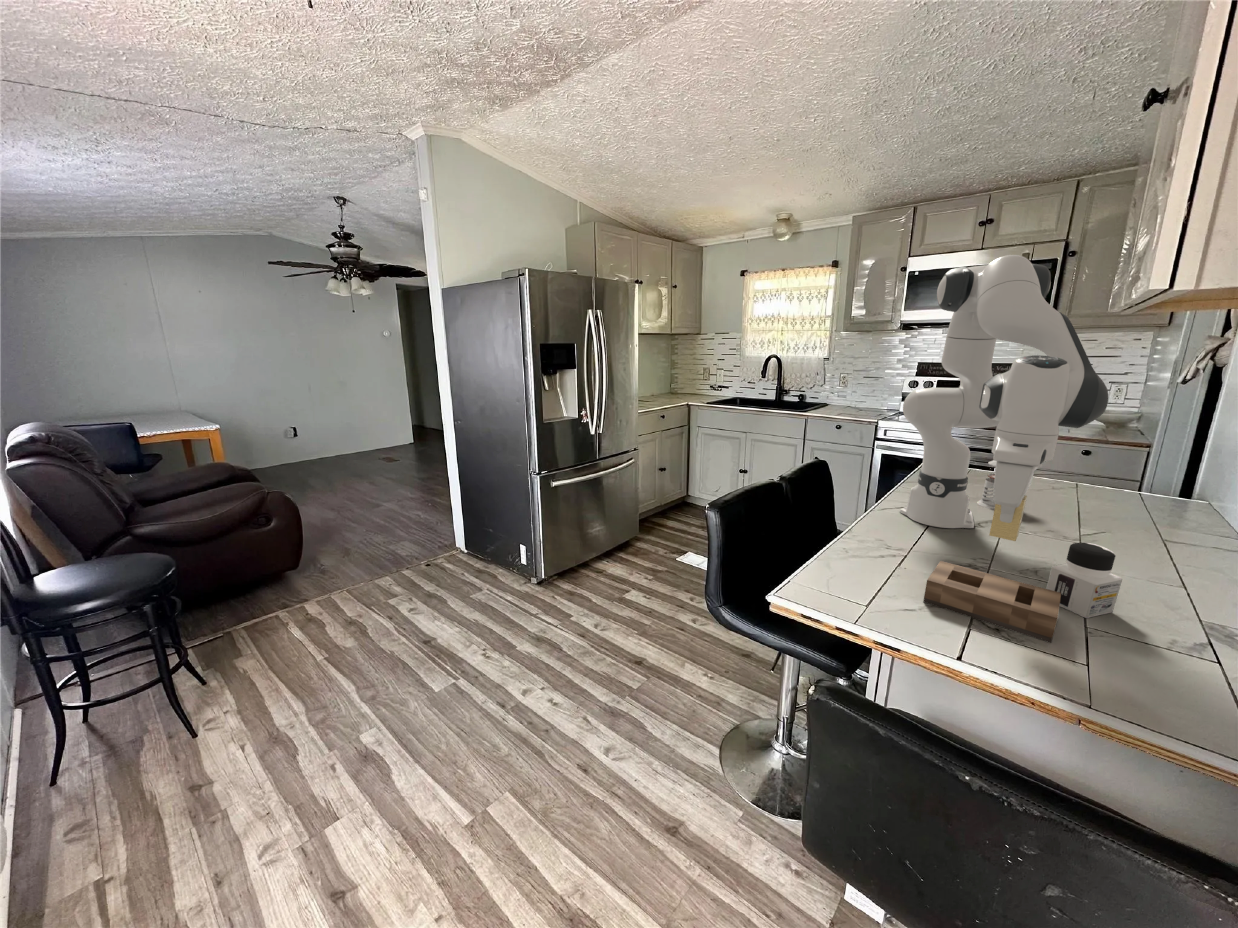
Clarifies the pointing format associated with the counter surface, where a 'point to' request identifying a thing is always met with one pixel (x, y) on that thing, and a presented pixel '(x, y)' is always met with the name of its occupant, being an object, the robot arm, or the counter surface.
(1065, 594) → the container
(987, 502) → the french press
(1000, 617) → the walnut socket block
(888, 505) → the counter surface
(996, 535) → the light wooden square bit
